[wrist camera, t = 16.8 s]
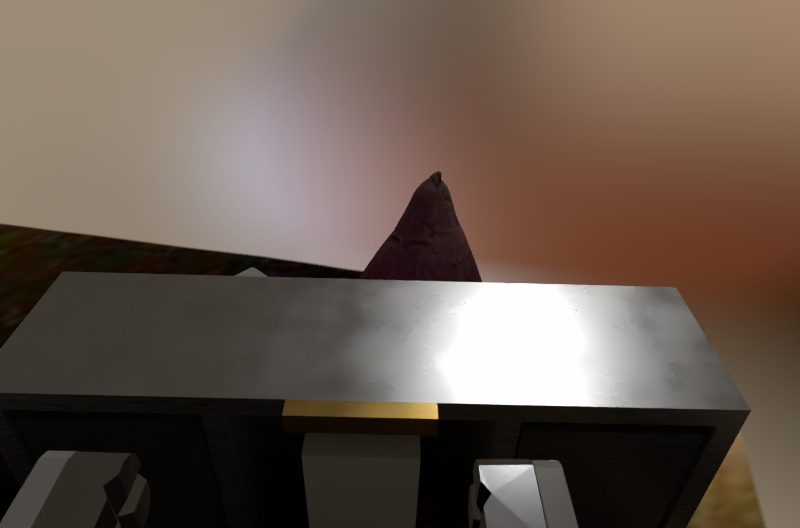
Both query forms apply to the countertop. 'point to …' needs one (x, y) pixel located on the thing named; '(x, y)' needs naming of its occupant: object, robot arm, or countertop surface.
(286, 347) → the miniature grey desk
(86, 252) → the countertop surface
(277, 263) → the countertop surface
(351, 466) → the tall grey upright block
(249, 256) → the countertop surface
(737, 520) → the countertop surface
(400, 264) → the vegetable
